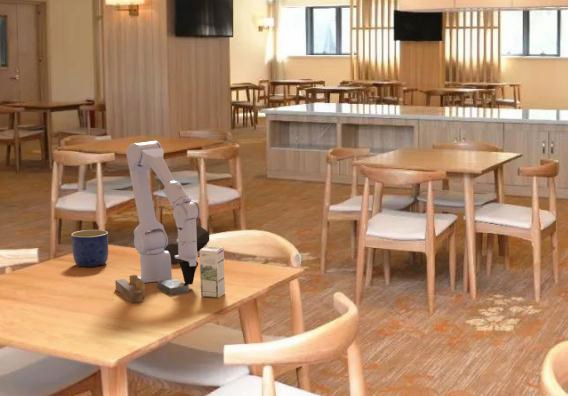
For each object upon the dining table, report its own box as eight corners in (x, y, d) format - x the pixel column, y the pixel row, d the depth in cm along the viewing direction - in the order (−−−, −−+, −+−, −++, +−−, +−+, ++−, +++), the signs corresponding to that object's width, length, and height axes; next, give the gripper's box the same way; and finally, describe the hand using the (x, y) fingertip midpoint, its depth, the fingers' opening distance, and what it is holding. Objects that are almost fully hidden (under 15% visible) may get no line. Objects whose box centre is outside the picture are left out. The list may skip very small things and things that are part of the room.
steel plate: (175, 286, 314) (175, 278, 313) (189, 293, 305) (188, 285, 305) (157, 289, 311) (157, 281, 310) (170, 296, 302) (170, 288, 302)
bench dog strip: (132, 287, 312) (132, 271, 311) (150, 300, 296) (149, 284, 295) (115, 289, 309) (115, 273, 309) (132, 303, 293) (131, 286, 293)
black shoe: (192, 252, 370) (169, 279, 344) (177, 227, 369) (153, 253, 343) (216, 239, 367) (195, 265, 341) (201, 214, 366) (179, 239, 339)
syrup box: (225, 293, 302) (224, 246, 300) (218, 298, 297) (216, 250, 295) (208, 292, 304) (206, 245, 302) (200, 297, 299) (198, 249, 296)
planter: (65, 264, 345) (64, 233, 343) (96, 258, 353) (95, 228, 351) (85, 270, 336) (83, 238, 334) (116, 264, 344) (115, 232, 342)
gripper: (169, 237, 313) (171, 279, 315) (179, 246, 300) (180, 290, 302) (192, 235, 315) (193, 277, 317) (202, 244, 302) (203, 288, 304)
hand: (188, 284), depth 310 cm, fingers closed
